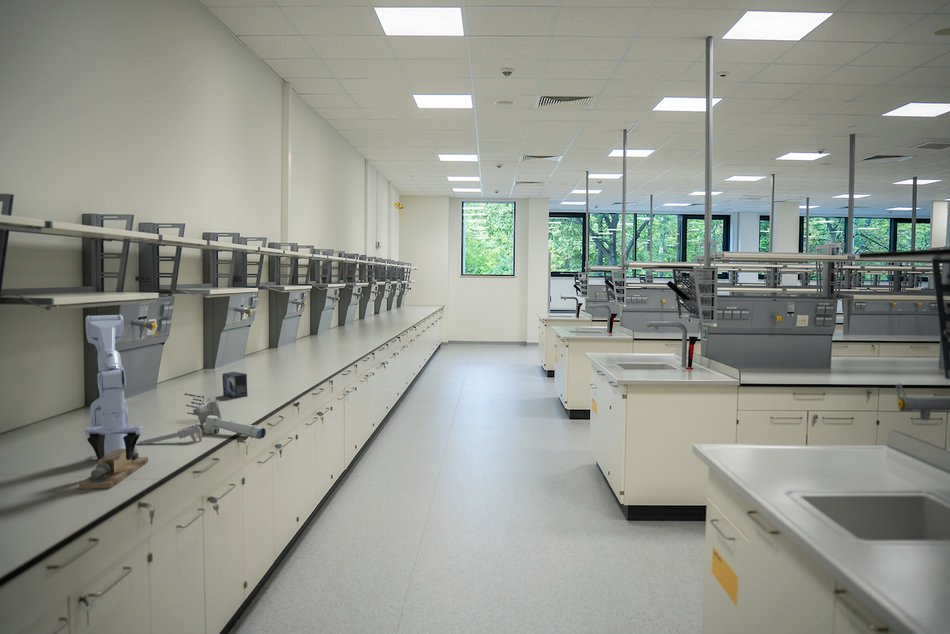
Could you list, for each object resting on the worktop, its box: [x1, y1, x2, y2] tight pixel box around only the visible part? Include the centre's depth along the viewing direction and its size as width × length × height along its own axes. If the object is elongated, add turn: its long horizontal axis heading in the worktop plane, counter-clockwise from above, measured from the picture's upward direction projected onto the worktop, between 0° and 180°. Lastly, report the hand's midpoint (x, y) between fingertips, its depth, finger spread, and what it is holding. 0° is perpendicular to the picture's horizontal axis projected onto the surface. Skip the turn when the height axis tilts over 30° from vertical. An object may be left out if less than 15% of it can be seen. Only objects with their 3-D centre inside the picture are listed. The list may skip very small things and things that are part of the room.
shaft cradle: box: [78, 447, 149, 490], centre depth 171 cm, size 22×8×6 cm, turn 5°
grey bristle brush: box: [184, 392, 223, 427], centre depth 229 cm, size 27×11×10 cm, turn 58°
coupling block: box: [97, 449, 132, 475], centre depth 171 cm, size 10×4×4 cm, turn 5°
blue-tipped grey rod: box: [202, 415, 267, 440], centre depth 212 cm, size 5×7×25 cm
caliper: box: [136, 423, 203, 445], centre depth 203 cm, size 20×1×6 cm, turn 102°
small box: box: [222, 371, 248, 399], centre depth 278 cm, size 11×6×10 cm, turn 54°
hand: (115, 459), depth 171 cm, fingers open, 7 cm apart
